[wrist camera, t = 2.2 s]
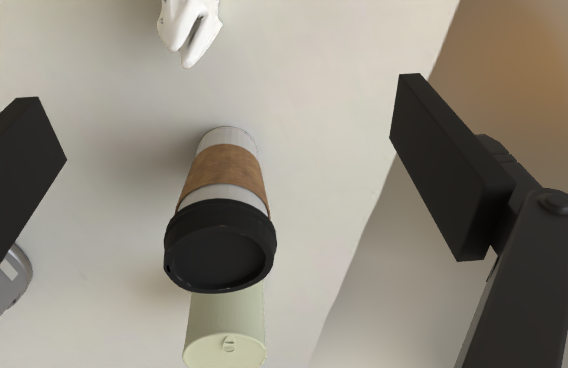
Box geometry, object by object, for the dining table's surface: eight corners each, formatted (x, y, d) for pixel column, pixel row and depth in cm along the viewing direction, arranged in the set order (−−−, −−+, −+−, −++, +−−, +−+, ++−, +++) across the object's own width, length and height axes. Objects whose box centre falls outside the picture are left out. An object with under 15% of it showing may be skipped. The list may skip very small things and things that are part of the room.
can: (269, 252, 49) (275, 340, 40) (257, 296, 55) (259, 382, 45) (196, 245, 48) (183, 336, 38) (191, 292, 53) (179, 380, 44)
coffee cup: (180, 115, 37) (148, 226, 25) (269, 114, 37) (279, 222, 25) (190, 185, 42) (168, 304, 30) (269, 182, 42) (277, 299, 31)
